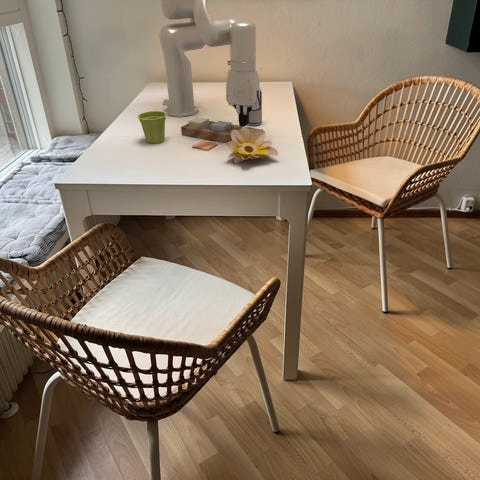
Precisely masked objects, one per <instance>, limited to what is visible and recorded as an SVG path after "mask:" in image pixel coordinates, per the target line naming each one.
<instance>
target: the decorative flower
mask: <svg viewBox="0 0 480 480" xmlns="http://www.w3.org/2000/svg"><path fill="white" fill-rule="evenodd" d="M247 127H248V126H245V127H242V131H241V130H232V131H231V138H232V140H233V141H230V142H227V143H222V146H224V147H225V148H227V149H230V150H231V153H230V154H229V155H228V156H227V158H230V157H234V156H235V157H234V162H235V164H238V163H241V162H244V161H246V160H249V159H251V160H252V161H253V160H256V158H257V159H258V158H262V159H265V158H267V156H269V157H273V156H275V157H277V156H278V155H279V152H278V150H277V149H276V148H275V147H273V146H272V144H273V142H272V141H270V140H265V137H266V131H265V130H264V129H263V130H262V128H259V129H260V130H257V131H255V132H254V133H253V132H252V131H251V130H250V129H248V128H247ZM264 157H265V158H264Z"/></svg>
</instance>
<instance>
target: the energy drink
mask: <svg viewBox="0 0 480 480" xmlns="http://www.w3.org/2000/svg"><path fill="white" fill-rule="evenodd" d="M262 93H263V92H262V89H261V88H260V101H259V108H258V109H256V110H252V111H251V112H250V113H249V123H248V125H247V126H252V127H257V126H261V125H262V123H263V120H262V119H263V116H262V115H263V113H262V111H263V110H262V109H263V104H262V103H263V97H262V95H263V94H262Z"/></svg>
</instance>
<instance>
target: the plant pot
mask: <svg viewBox="0 0 480 480" xmlns="http://www.w3.org/2000/svg"><path fill="white" fill-rule="evenodd" d="M167 116H168V115H167V113H166V111H163V110H162V111H161V110H149V111H144V112H141V113H139V114H137V119H138V120H139V122H140V125H141V126H142V127H141V128H142V130H143V131H142V132H143V134H144V135H143V136H144V138H145V141H146V143H148V144H150V143H151V144H159V143H163V141H165V135H166V134H165V131H166V127H165V126H166V119H167V118H166V117H167Z"/></svg>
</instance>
